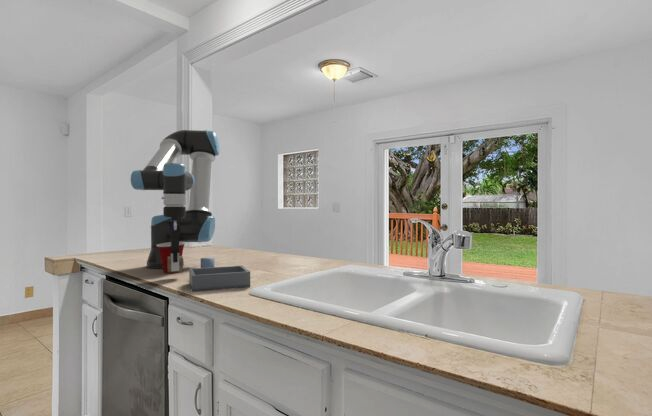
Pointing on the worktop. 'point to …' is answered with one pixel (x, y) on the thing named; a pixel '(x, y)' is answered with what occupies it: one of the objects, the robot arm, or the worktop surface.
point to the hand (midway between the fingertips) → (175, 269)
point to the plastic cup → (167, 254)
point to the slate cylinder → (207, 262)
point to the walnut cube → (179, 264)
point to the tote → (218, 278)
